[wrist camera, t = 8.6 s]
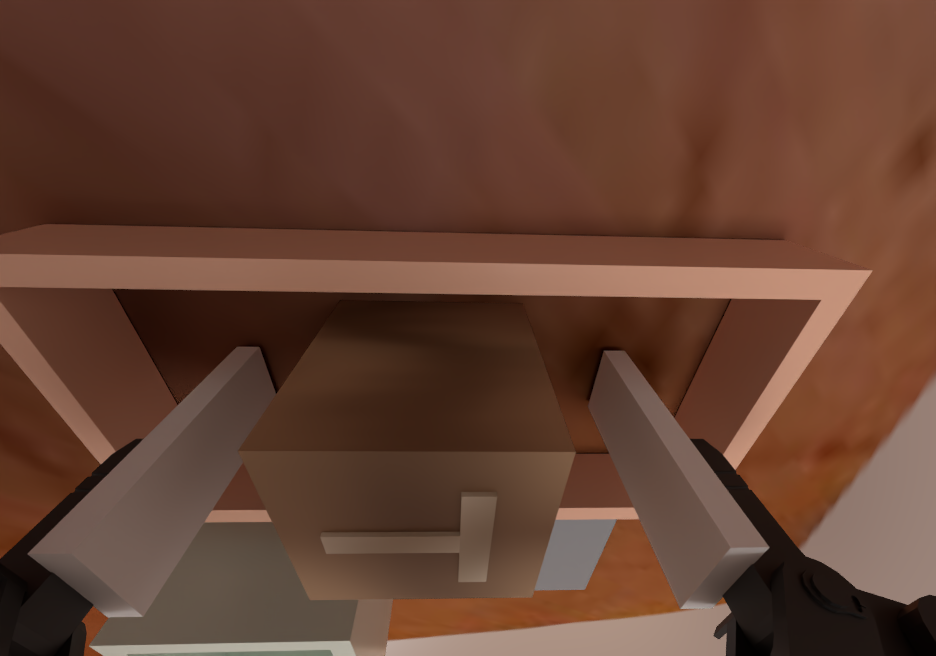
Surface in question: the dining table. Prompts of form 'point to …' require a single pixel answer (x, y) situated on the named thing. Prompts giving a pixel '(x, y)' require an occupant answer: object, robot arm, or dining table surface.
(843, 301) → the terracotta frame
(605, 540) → the slate coaster
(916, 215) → the dining table surface
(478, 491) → the letter cube
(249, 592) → the mint green open box
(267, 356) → the dining table surface
